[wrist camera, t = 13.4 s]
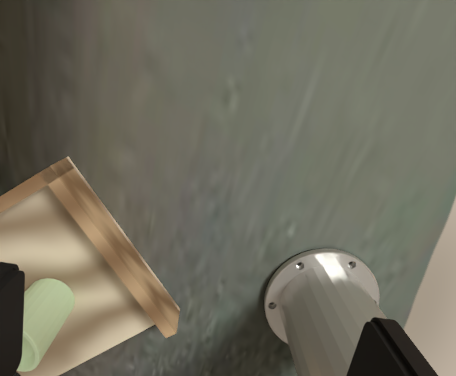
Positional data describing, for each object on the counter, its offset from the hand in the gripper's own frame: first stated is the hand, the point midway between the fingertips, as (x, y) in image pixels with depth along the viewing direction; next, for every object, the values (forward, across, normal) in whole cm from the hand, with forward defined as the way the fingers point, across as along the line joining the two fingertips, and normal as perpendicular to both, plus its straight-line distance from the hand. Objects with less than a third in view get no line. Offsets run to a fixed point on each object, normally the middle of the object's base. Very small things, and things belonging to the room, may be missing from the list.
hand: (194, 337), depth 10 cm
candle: (+26, +14, +18) cm, 34 cm away
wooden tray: (+26, +14, +17) cm, 34 cm away
